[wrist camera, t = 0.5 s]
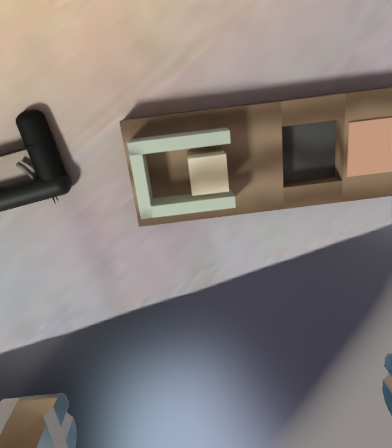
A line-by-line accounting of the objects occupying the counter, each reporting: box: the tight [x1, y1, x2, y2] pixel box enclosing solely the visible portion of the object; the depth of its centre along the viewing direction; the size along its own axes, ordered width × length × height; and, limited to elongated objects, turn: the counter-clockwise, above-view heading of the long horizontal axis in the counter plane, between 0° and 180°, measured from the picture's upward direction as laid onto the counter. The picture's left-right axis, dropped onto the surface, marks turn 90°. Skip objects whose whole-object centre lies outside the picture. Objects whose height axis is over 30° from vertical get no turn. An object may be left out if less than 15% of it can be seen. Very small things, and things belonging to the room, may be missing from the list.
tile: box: [347, 117, 392, 177], centre depth 46 cm, size 7×7×1 cm
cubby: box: [127, 127, 236, 219], centre depth 44 cm, size 10×12×4 cm
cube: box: [187, 148, 229, 196], centre depth 44 cm, size 4×4×4 cm
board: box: [120, 87, 392, 227], centre depth 47 cm, size 14×36×3 cm, turn 97°
